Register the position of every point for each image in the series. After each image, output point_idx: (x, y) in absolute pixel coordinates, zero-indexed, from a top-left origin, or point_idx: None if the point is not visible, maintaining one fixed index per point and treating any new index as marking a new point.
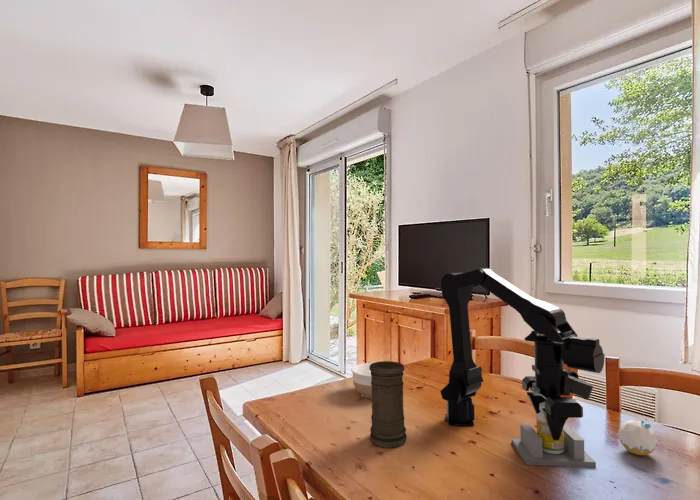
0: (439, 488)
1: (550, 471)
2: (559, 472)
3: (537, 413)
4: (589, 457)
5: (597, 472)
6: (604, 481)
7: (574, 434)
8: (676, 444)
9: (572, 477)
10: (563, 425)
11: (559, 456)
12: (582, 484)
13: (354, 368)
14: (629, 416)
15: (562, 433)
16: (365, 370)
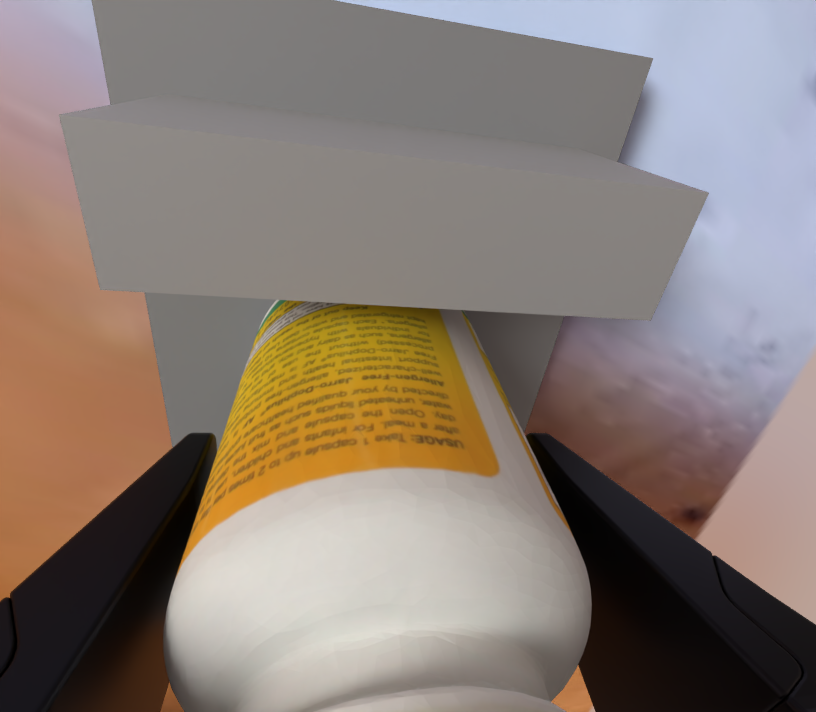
0: (567, 705)
1: (575, 418)
2: (599, 378)
3: (161, 700)
4: (561, 64)
5: (692, 109)
6: (800, 141)
7: (514, 229)
8: None
9: (670, 332)
10: (744, 584)
11: (486, 337)
12: (749, 313)
13: None
14: None
15: (507, 402)
16: None
